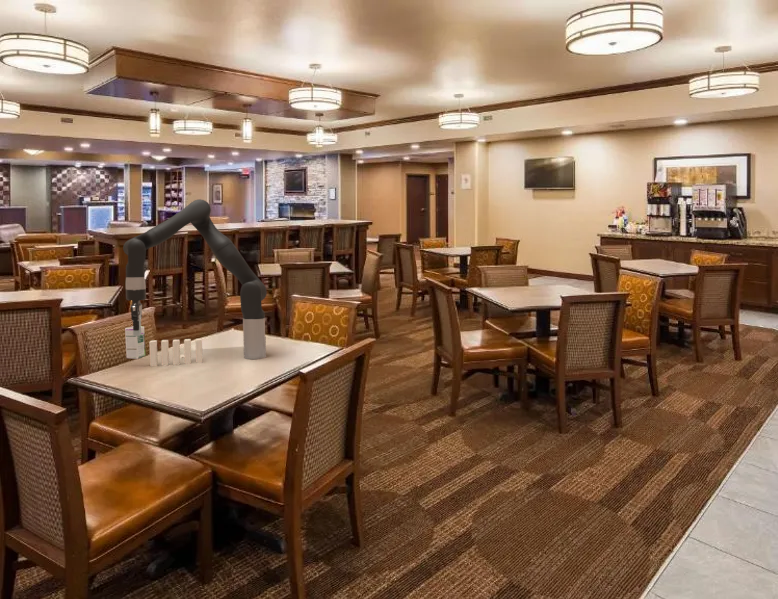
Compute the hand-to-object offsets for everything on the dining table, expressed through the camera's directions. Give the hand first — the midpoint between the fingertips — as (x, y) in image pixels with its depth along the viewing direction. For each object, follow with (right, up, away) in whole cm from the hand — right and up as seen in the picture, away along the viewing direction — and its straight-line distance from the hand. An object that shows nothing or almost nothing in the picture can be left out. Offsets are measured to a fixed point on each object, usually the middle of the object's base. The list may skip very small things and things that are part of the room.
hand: (137, 329), depth 244 cm
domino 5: (+19, -15, +6) cm, 25 cm away
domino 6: (+23, -15, +7) cm, 28 cm away
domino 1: (0, -2, 0) cm, 2 cm away
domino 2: (+6, -15, +3) cm, 16 cm away
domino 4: (+14, -15, +5) cm, 21 cm away
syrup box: (-7, -14, +16) cm, 23 cm away
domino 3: (+10, -15, +4) cm, 18 cm away
